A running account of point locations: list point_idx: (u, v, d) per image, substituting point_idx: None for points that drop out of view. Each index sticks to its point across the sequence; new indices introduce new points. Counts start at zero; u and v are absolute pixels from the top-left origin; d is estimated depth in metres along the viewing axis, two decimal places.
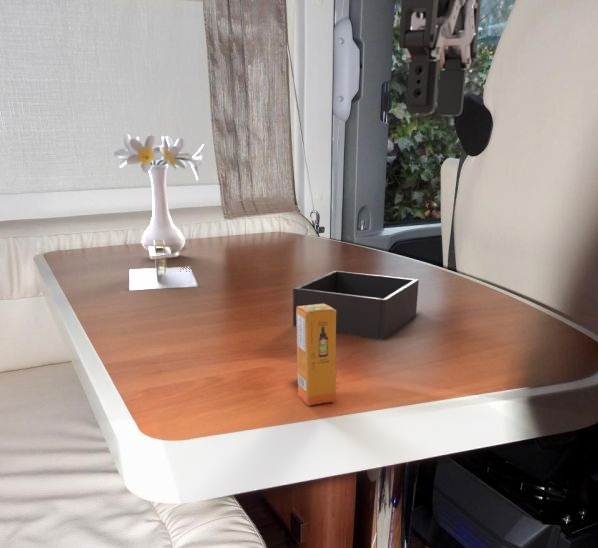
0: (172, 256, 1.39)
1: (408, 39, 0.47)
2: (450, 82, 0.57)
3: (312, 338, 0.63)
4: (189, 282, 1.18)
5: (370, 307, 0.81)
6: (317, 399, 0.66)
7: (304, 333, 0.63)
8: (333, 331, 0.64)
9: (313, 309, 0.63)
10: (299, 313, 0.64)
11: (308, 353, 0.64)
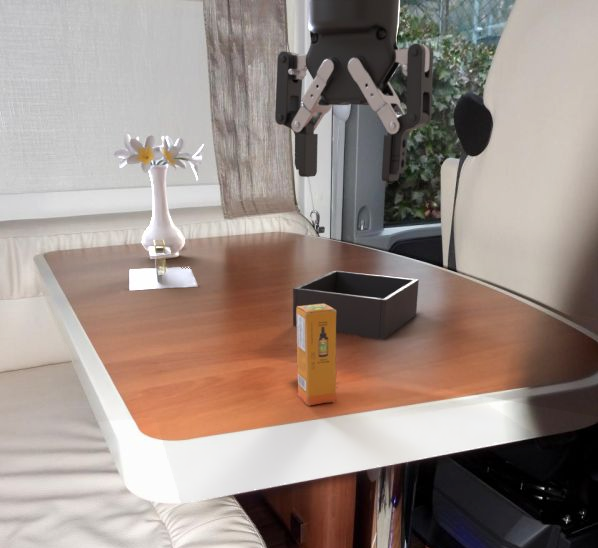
0: (172, 256, 1.39)
1: (423, 118, 0.52)
2: (310, 145, 0.59)
3: (312, 338, 0.63)
4: (189, 282, 1.18)
5: (370, 307, 0.81)
6: (317, 399, 0.66)
7: (304, 333, 0.63)
8: (333, 331, 0.64)
9: (313, 309, 0.63)
10: (299, 313, 0.64)
11: (308, 353, 0.64)
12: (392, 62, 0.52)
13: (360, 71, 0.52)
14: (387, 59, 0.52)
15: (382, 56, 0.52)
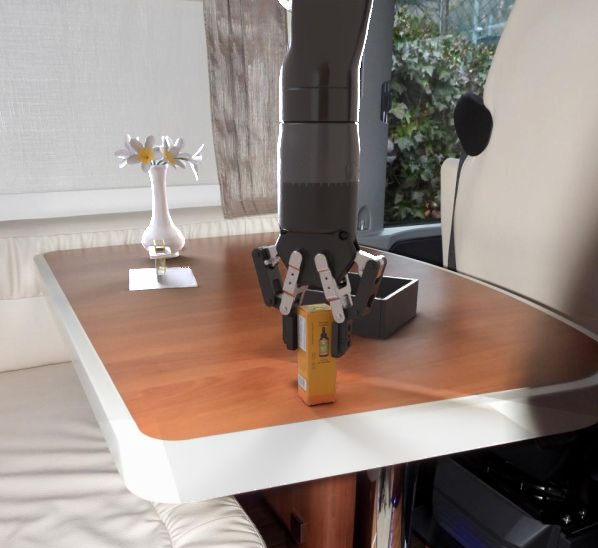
0: (172, 256, 1.39)
1: (364, 312, 0.61)
2: None
3: (312, 338, 0.63)
4: (189, 282, 1.18)
5: None
6: (317, 399, 0.66)
7: (304, 333, 0.63)
8: None
9: (314, 309, 0.63)
10: (299, 313, 0.64)
11: (309, 353, 0.64)
12: (353, 257, 0.59)
13: (326, 265, 0.59)
14: (349, 256, 0.59)
15: (344, 254, 0.59)
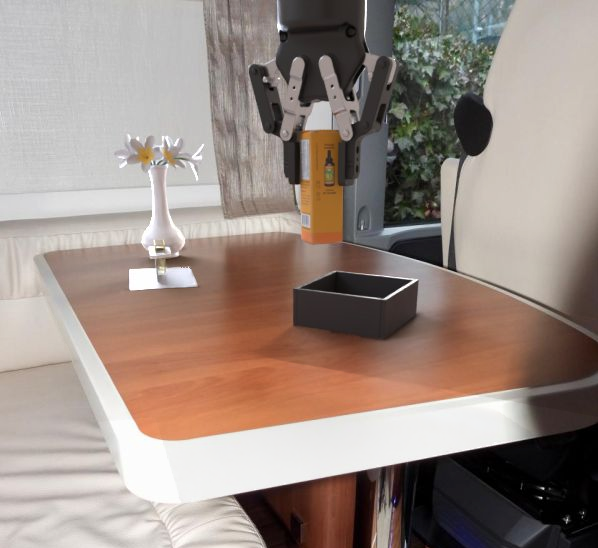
0: (172, 256, 1.39)
1: (375, 125, 0.55)
2: (299, 153, 0.59)
3: (317, 163, 0.57)
4: (189, 282, 1.18)
5: (370, 307, 0.81)
6: (322, 237, 0.60)
7: (308, 158, 0.57)
8: None
9: None
10: (302, 138, 0.58)
11: (313, 181, 0.57)
12: (362, 59, 0.53)
13: (331, 68, 0.53)
14: (357, 56, 0.53)
15: (352, 55, 0.53)
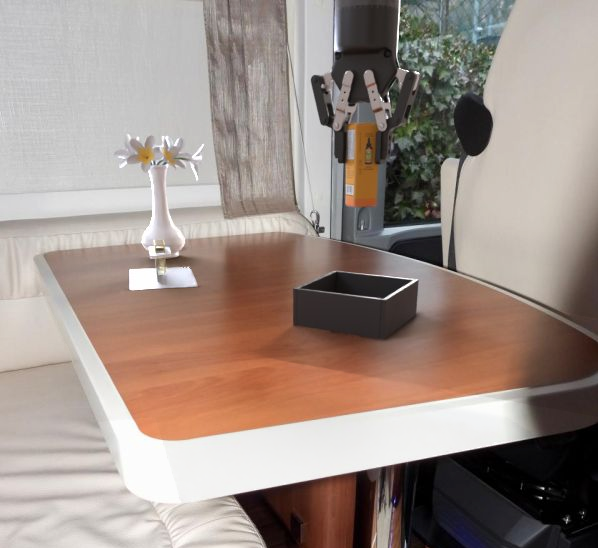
0: (172, 256, 1.39)
1: (403, 120, 0.76)
2: None
3: (360, 147, 0.79)
4: (189, 282, 1.18)
5: (370, 307, 0.81)
6: (362, 202, 0.81)
7: (353, 143, 0.79)
8: None
9: None
10: (349, 128, 0.79)
11: (357, 160, 0.79)
12: (395, 73, 0.75)
13: (373, 79, 0.75)
14: (392, 71, 0.74)
15: (388, 70, 0.75)
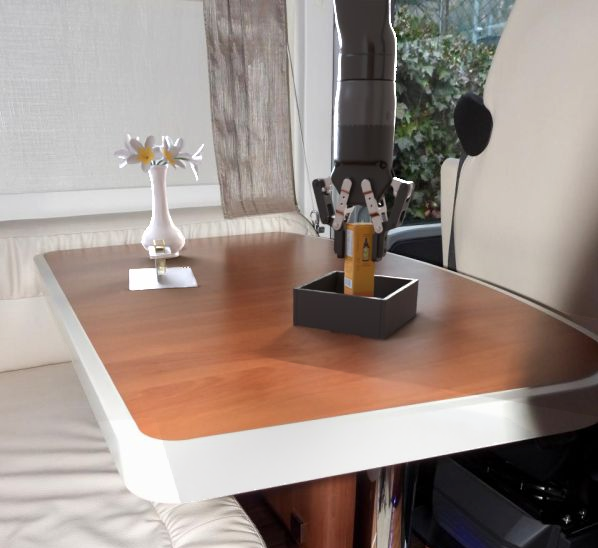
0: (172, 256, 1.39)
1: (398, 224, 0.82)
2: None
3: (358, 246, 0.84)
4: (189, 282, 1.18)
5: (370, 307, 0.81)
6: (360, 295, 0.87)
7: (352, 243, 0.84)
8: None
9: (359, 224, 0.84)
10: (347, 228, 0.85)
11: (355, 258, 0.85)
12: (390, 182, 0.80)
13: (370, 188, 0.81)
14: (387, 180, 0.80)
15: (384, 179, 0.80)
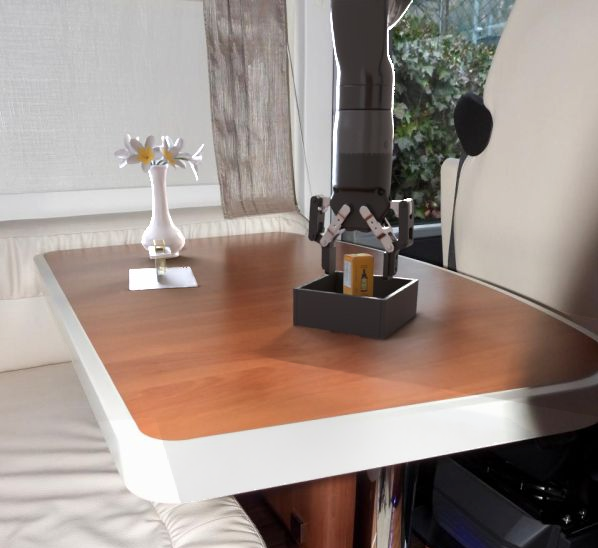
0: (172, 256, 1.39)
1: (409, 243, 0.82)
2: (332, 254, 0.88)
3: (356, 277, 0.86)
4: (189, 282, 1.18)
5: (370, 307, 0.81)
6: None
7: (350, 274, 0.86)
8: (371, 272, 0.86)
9: (357, 255, 0.86)
10: (346, 259, 0.87)
11: (353, 288, 0.86)
12: (388, 208, 0.82)
13: (368, 214, 0.82)
14: (385, 207, 0.81)
15: (382, 205, 0.81)
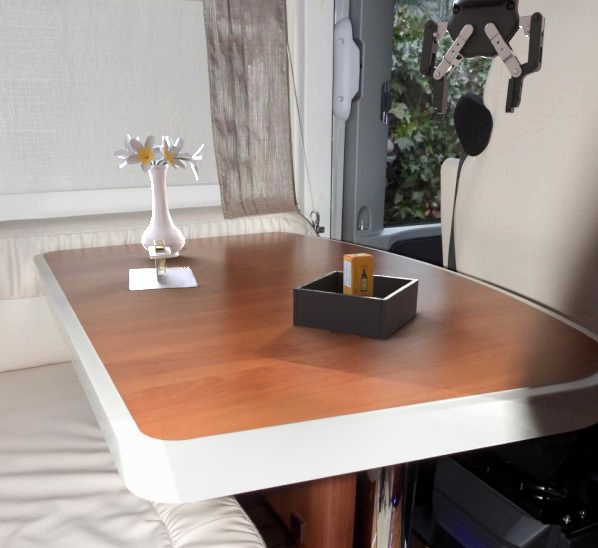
0: (172, 256, 1.39)
1: (538, 65, 0.75)
2: (445, 90, 0.81)
3: (356, 277, 0.86)
4: (189, 282, 1.18)
5: (370, 307, 0.81)
6: None
7: (350, 274, 0.86)
8: (371, 272, 0.86)
9: (357, 255, 0.86)
10: (346, 259, 0.87)
11: (353, 288, 0.86)
12: (517, 26, 0.74)
13: (494, 32, 0.74)
14: (514, 23, 0.74)
15: (510, 21, 0.74)
